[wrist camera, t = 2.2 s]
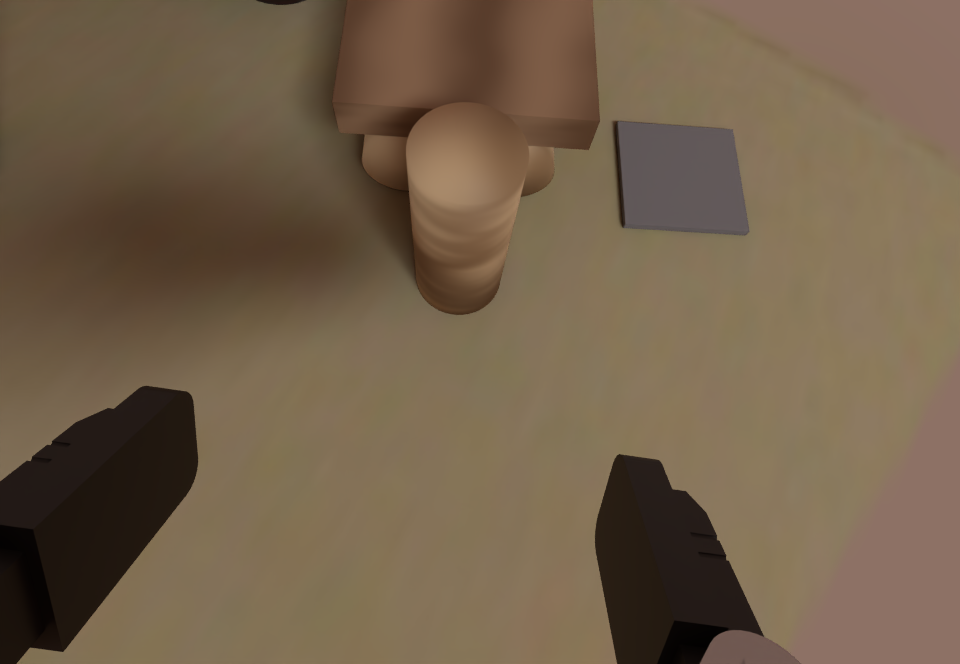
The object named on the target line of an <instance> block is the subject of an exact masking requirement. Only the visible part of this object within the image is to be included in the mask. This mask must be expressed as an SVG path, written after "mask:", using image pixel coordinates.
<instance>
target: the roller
mask: <svg viewBox="0 0 960 664" xmlns="http://www.w3.org/2000/svg"><path fill="white" fill-rule="evenodd" d="M406 161H407V173H408V185H409V198H410V210H411V222H412V234H413V246H414V259H415V271H416V281H417V286H418V289H419V291H420V293H421V295H422V296H423V298H424V299H425V300H426V301H427V302H428V303H429V304H430V305H431V306H433V307H434V308H436V309H438V310H440V311H442V312H445V313H449V314H455V315H463V314H469V313H473V312H476V311H478V310H480V309H482V308H484V307H485V306H486V305H488V304H489V303H490V302H491V300H492V299H493V298H494V296H495V295H496V293H497V291H498V288H499V284H500V280H501V276H502V272H503V268H504V263H505V259H506V255H507V251H508V247H509V243H510V238H511V234H512V230H513V226H514V222H515V218H516V214H517V209H518V205H519V201H520V197H521V193H522V189H523V184H524V180H525V176H526V172H527V168H528V164H529V148H528V143H527V140H526V138H525V136H524V134H523V132H522V130H521V129H520V128H519V126H518V125H517V124H516V123H515V122H514V121H513V120H512V119H511V118H509V117H508V116H507V115H506V114H504V113H502V112H501V111H499V110H497V109H495V108H492V107H490V106H487V105H483V104H479V103H471V102H458V103H451V104H446V105H443V106H440V107H438V108H435V109H433V110H431V111H430V112H428V113H426V114H425V115H424V116H423V117H421V118H420V119H419V120H418V121H417V122H416V124H415V125H414V127H413V128H412V130H411V132H410V134H409V136H408V139H407V144H406Z"/></svg>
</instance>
